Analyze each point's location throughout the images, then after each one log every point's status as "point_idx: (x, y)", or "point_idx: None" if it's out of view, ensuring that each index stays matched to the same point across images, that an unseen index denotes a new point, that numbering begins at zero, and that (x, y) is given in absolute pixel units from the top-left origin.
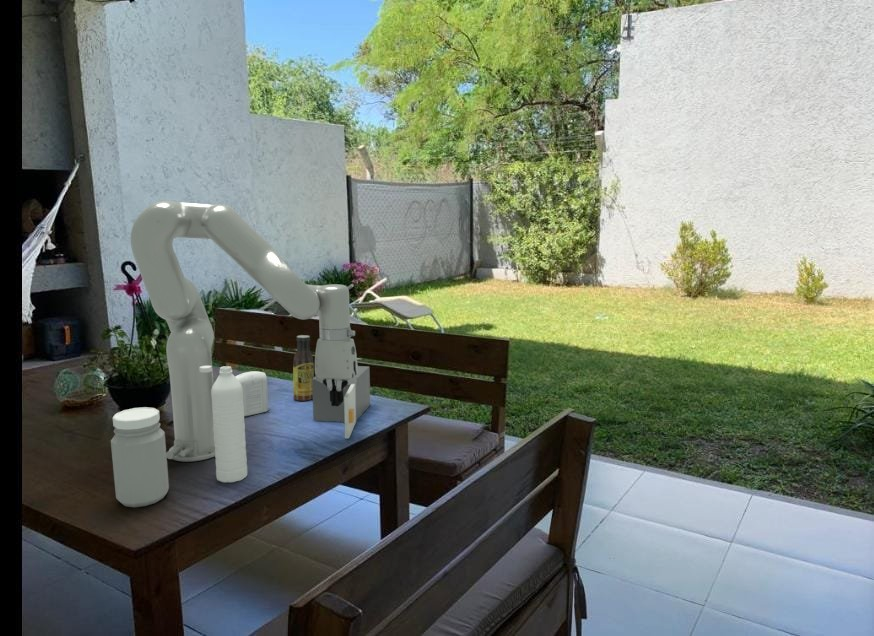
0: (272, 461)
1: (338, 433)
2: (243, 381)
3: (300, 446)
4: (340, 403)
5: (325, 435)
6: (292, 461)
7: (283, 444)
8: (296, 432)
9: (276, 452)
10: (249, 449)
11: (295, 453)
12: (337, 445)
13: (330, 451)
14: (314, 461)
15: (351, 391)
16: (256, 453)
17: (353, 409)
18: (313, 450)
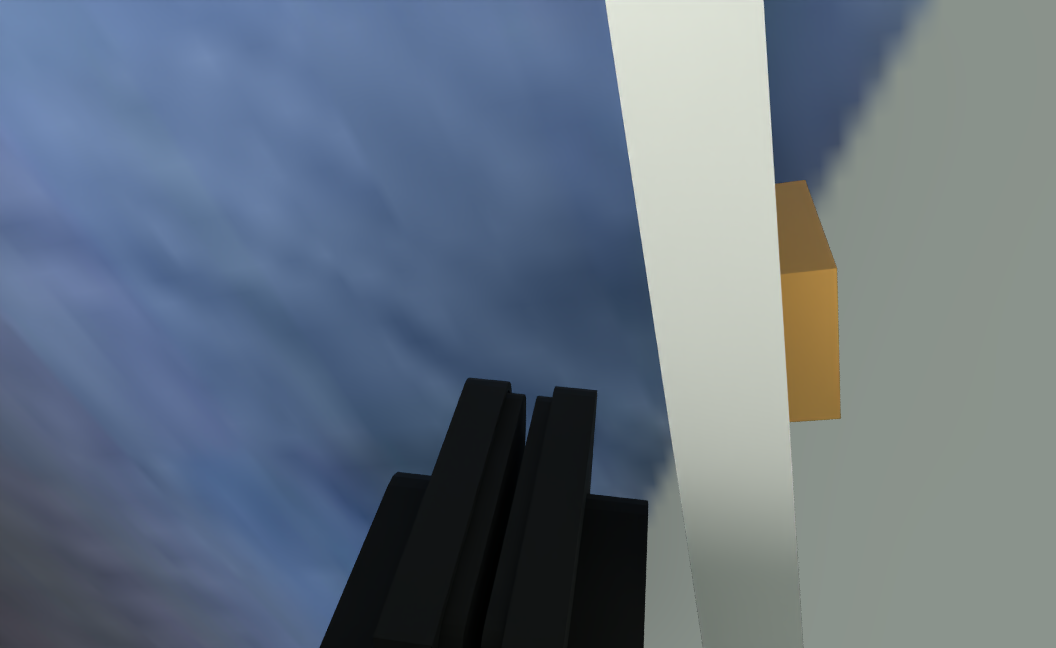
0: (298, 642)
1: (535, 31)
2: None
3: (327, 418)
4: (592, 457)
5: (411, 127)
6: None
7: (166, 396)
8: (60, 97)
9: (224, 529)
10: (9, 499)
11: None
12: (649, 365)
13: (631, 485)
14: None
15: (772, 183)
16: (108, 551)
17: (836, 314)
18: None
